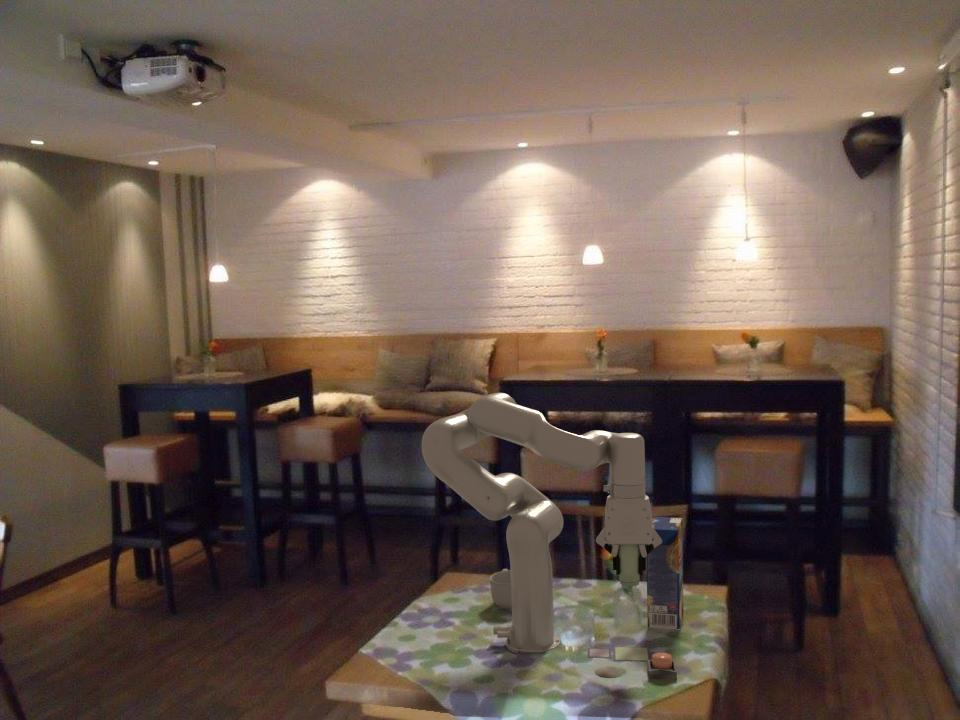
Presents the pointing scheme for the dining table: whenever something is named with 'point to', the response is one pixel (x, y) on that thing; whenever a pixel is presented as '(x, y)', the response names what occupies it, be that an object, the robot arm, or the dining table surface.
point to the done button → (662, 661)
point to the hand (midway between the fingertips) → (629, 572)
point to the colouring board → (630, 655)
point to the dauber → (629, 565)
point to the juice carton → (666, 575)
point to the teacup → (501, 588)
